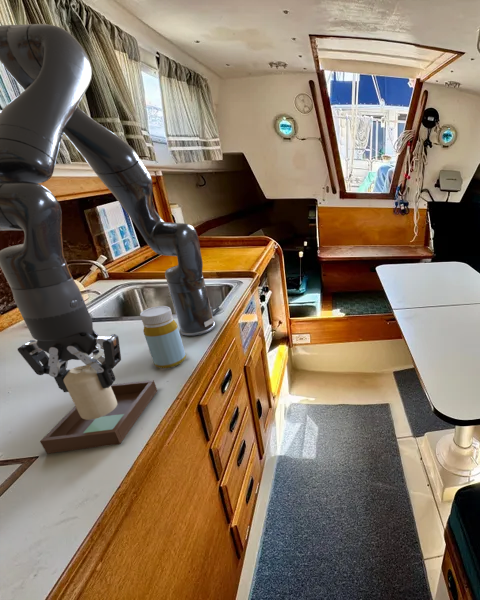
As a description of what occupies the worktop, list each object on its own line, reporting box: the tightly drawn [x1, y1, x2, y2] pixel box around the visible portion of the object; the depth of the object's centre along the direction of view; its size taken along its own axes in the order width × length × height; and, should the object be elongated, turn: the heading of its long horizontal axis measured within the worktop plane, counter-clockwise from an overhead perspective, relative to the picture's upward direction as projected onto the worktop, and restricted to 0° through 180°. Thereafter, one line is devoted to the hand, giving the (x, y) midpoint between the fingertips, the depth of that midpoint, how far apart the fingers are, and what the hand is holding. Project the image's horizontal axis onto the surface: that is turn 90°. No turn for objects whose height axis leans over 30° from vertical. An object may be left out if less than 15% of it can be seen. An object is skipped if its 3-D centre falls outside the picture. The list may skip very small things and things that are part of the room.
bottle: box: [139, 305, 187, 369], centre depth 82 cm, size 7×7×15 cm
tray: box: [39, 379, 158, 454], centre depth 66 cm, size 16×12×3 cm
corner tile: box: [84, 414, 124, 433], centre depth 64 cm, size 7×7×1 cm
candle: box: [63, 364, 117, 420], centre depth 61 cm, size 6×6×10 cm
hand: (89, 387), depth 61 cm, fingers closed on candle, 5 cm apart
